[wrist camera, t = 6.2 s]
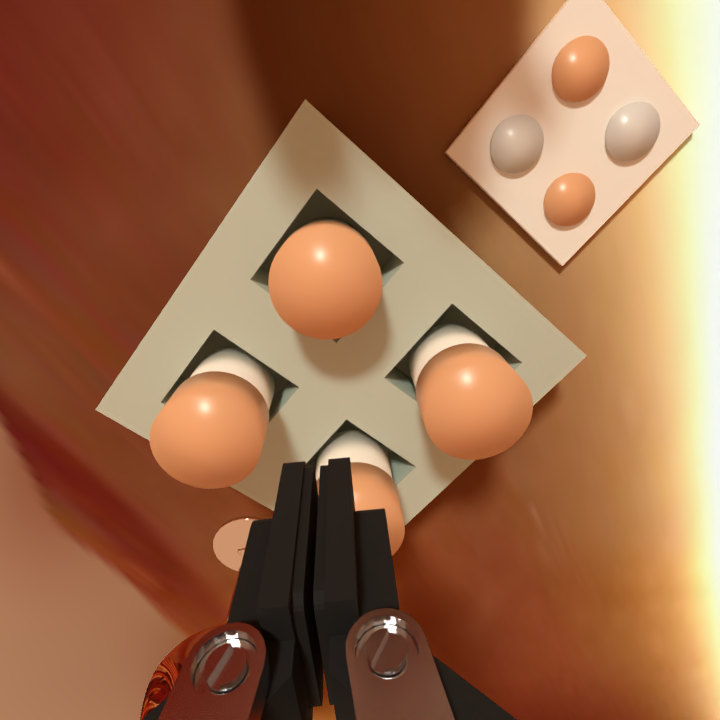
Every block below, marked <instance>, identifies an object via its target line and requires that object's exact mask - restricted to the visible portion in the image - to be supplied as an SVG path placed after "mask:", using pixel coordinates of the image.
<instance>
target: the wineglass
mask: <svg viewBox="0 0 720 720" xmlns="http://www.w3.org/2000/svg"><path fill="white" fill-rule="evenodd" d="M254 520H263V519H259V518H253V517H243V518H237V519H234V520H231V521H229V522H227V523H225V524H224V525H223V526H221V527H220V528H219V530H218V531H217V532H216V534H215V536H214V540H213V549H214V552H215V555H216V556H217V558H218V559H219V560H220V561H221V562H222V563H223V564H224V565H226V566H227V567H229V568H231V569H233V570H236V571H238V575H237V579H236V583H235V588H236V584H237V580H238V576H239V572H240V568H241V564H242V559H243V555H244V551H245V547H246V543H247V539H248V535H249V531H250V527H251V524H252V522H253V521H254ZM235 588H234V592H235ZM234 592H233V596H234ZM233 596H232V599H231V603H230V607H229V611H228V615H227V617H226V618H225V620H224V621H223V622H221V623H220V624H218V625H216V626H214V627H211V628H208V629H205V630H202V631H200V632H198V633H196V634H194V635H192V636H190V637H188V638H187V639H185V640H184V641H182V642H181V643H180V644H178V645H177V646H176V647H175V648H173V649H172V650H171V651H170V652H169V653H168V655H166V656H165V658H164V659H163V660H162V661H161V663H160V664H159V665H158V667H157V668H156V670H155V672H154V673H153V675H152V677H151V679H150V682H149V684H148V686H147V689H146V693H145V697H144V700H143V705H142V709H141V715H140V720H142V719H143V718H144V717H145V716H146V715H147V714H149V713H150V712H151V711H152V710H153V709H154V708H155V707H157V706H158V705H159V704H160V703H161V702H162V701H163V700H165V699H166V698H167V697H168V696H169V694H170V692H171V690H172V688H173V685H174V683H175V681H176V679H177V677H178V674H179V672H180V670H181V668H182V665H183V663H184V661H185V659H186V657H187V656H188V654H189V652H190V651H191V649H192V647H193V646H194V645H195V644H196V643H197V642H198V641H199V640H200V639H201V638H202V636H204V635H205V634H207V633H208V632H210V631H211V630H213V629H214V628H216V627H219V626H222V625H224V624H227V621H228V617H229V613H230V609H231V605H232V601H233Z"/></svg>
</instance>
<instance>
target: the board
mask: <svg viewBox="0 0 720 720" xmlns="http://www.w3.org/2000/svg"><path fill="white" fill-rule="evenodd" d="M323 217H332V218H337V219H341V220H343V221H346V222H347V223H349V224H351V225H352V226H353V227H355V228H356V229H357V230H358V231H359V233H360V234H361V235H362V236H363V237H364V238H365V239H366V241H367V242H368V243H369V245H370V247H371V248H372V250H373V253H374V255H375V257H376V259H377V262H378V264H379V267H380V270H381V274H382V295H381V299H380V302H379V305H378V307H377V309H376V311H375V313H374V315H373V316H372V317H371V319H370V320H369V321H368V322H367V323H366V324H365V325H364V326H363V327H362V328H360V329H359V330H357V331H356V332H354V333H352V334H350V335H348V336H345V337H342V338H337V339H328V340H324V339H316V338H311V337H308V336H305V335H303V334H301V333H299V332H297V331H295V330H294V329H292V328H291V327H290V326H289V325H287V324H286V323H285V322H284V321H283V320H282V318H281V317H280V316H279V314H278V313H277V311H276V310H275V308H274V306H273V303H272V301H271V297H270V294H269V286H268V278H269V271H270V267H271V264H272V262H273V259H274V257H275V255H276V254H277V252H278V251H279V249H280V248H281V246H282V245H283V244H284V242H285V241H286V240H287V239H288V237H289V236H290V235H291V234H292V233H293V232H295V231H296V230H297V229H299V228H300V227H302V226H303V225H304V224H306V223H307V222H309V221H312V220H314V219H317V218H323ZM443 324H460V325H464V326H467V327H469V328H471V329H472V330H474V331H475V332H476V333H477V334H478V335H479V336H480V337H481V338H482V339H483V340H484V342H485V343H486V344H487V345H488V346H489V347H490V348H491V349H493V350H495V351H496V352H498V353H499V354H500V355H501V356H502V357H503V358H504V359H505V360H506V362H507V363H508V364H509V365H510V366H511V367H512V368H513V369H514V371H515V372H516V373H517V374H518V375H519V376H520V377H521V378H522V380H523V381H524V382H525V383H526V385H527V386H528V388H529V390H530V393H531V396H532V401H533V406H534V405H535V404H536V403H537V402H538V401H539V400H540V399H541V398H542V397H543V396H544V395H545V394H546V393H547V392H549V391H550V390H551V389H552V388H553V387H554V386H555V385H556V384H557V383H558V382H559V381H560V380H561V379H562V378H564V377H565V376H566V375H567V374H568V373H569V372H570V371H571V370H572V369H573V368H574V367H575V366H576V365H577V364H579V363H580V362H581V361H582V360H583V359H584V358H585V357H586V356H587V355H585V354H584V353H583V352H582V351H581V350H580V349H579V348H578V347H577V346H576V345H575V344H573V343H572V342H571V341H570V340H569V339H568V338H567V337H566V336H565V335H564V334H562V333H561V332H560V331H559V330H558V329H557V328H556V327H555V326H554V325H553V324H551V323H550V322H549V321H548V320H547V319H546V318H545V317H544V316H543V315H542V314H540V313H539V312H538V311H537V310H536V309H535V308H534V307H533V306H532V305H531V304H530V303H528V302H527V301H526V300H525V299H524V298H523V297H522V296H521V295H520V294H519V293H517V292H516V291H515V290H514V289H513V288H512V287H511V286H510V285H509V284H508V283H506V282H505V281H504V280H503V279H502V278H501V277H500V276H499V275H498V274H497V273H495V272H494V271H493V270H492V269H491V268H490V267H489V266H488V265H487V264H486V263H484V262H483V261H482V260H481V259H480V258H479V257H478V256H477V255H476V254H475V253H474V252H472V251H471V250H470V249H469V248H468V247H467V246H466V245H465V244H464V243H463V242H461V241H460V240H459V239H458V238H457V237H456V236H455V235H454V234H453V233H452V232H450V231H449V230H448V229H447V228H446V227H445V226H444V225H443V224H442V223H441V222H439V221H438V220H437V219H436V218H435V217H434V216H433V215H432V214H431V213H430V212H428V211H427V210H426V209H425V208H424V207H423V206H422V205H421V204H420V203H419V202H418V201H416V200H415V199H414V198H413V197H412V196H411V195H410V194H409V193H408V192H407V191H405V190H404V189H403V188H402V187H401V186H400V185H399V184H398V183H397V182H396V181H394V180H393V179H392V178H391V177H390V176H389V175H388V174H387V173H386V172H385V171H383V170H382V169H381V168H380V167H379V166H378V165H377V164H376V163H375V162H374V161H373V160H371V159H370V158H369V157H368V156H367V155H366V154H365V153H364V152H363V151H362V150H360V149H359V148H358V147H357V146H356V145H355V144H354V143H353V142H352V141H351V140H349V139H348V138H347V137H346V136H345V135H344V134H343V133H342V132H341V131H340V130H338V129H337V128H336V127H335V126H334V125H333V124H332V123H331V122H330V121H329V120H327V119H326V118H325V117H324V116H323V115H322V114H321V113H320V112H319V111H318V110H317V109H315V108H314V107H313V106H312V105H311V104H310V103H309V102H308V101H307V100H306V99H305V100H304V102H303V103H302V105H301V106H300V107H299V109H298V110H297V112H296V113H295V115H294V116H293V118H292V119H291V121H290V122H289V124H288V125H287V127H286V128H285V130H284V131H283V133H282V134H281V136H280V137H279V139H278V140H277V142H276V143H275V145H274V146H273V147H272V149H271V150H270V152H269V153H268V155H267V156H266V158H265V159H264V161H263V162H262V164H261V165H260V167H259V168H258V170H257V171H256V173H255V174H254V176H253V177H252V179H251V180H250V182H249V183H248V185H247V186H246V187H245V189H244V190H243V192H242V193H241V195H240V196H239V198H238V199H237V201H236V202H235V204H234V205H233V207H232V208H231V210H230V211H229V213H228V214H227V216H226V217H225V219H224V220H223V222H222V223H221V225H220V226H219V227H218V229H217V230H216V232H215V233H214V235H213V236H212V238H211V239H210V241H209V242H208V244H207V245H206V247H205V248H204V250H203V251H202V253H201V254H200V256H199V257H198V259H197V260H196V262H195V263H194V265H193V266H192V267H191V269H190V270H189V272H188V273H187V275H186V276H185V278H184V279H183V281H182V282H181V284H180V285H179V287H178V288H177V290H176V291H175V293H174V294H173V296H172V297H171V299H170V300H169V302H168V303H167V304H166V306H165V307H164V309H163V310H162V312H161V313H160V315H159V316H158V318H157V319H156V321H155V322H154V324H153V325H152V327H151V328H150V330H149V331H148V333H147V334H146V336H145V337H144V339H143V340H142V342H141V343H140V344H139V346H138V347H137V349H136V350H135V352H134V353H133V355H132V356H131V358H130V359H129V361H128V362H127V364H126V365H125V367H124V368H123V370H122V371H121V373H120V374H119V376H118V377H117V379H116V380H115V382H114V383H113V384H112V386H111V387H110V389H109V390H108V392H107V393H106V395H105V396H104V398H103V399H102V401H101V402H100V404H99V405H98V407H97V408H96V410H97V411H98V412H100V413H102V414H104V415H105V416H107V417H109V418H111V419H112V420H114V421H116V422H118V423H119V424H121V425H123V426H125V427H126V428H128V429H130V430H132V431H134V432H135V433H137V434H139V435H141V436H142V437H144V438H146V439H148V440H149V441H150V430H151V426H152V424H153V422H154V420H155V418H156V417H157V415H158V414H159V412H160V411H161V410H162V408H163V407H164V406H165V404H166V403H167V402H168V400H169V399H170V397H171V396H172V395H173V393H174V392H175V391H176V389H177V388H178V387H179V386H180V385H181V384H182V383H183V382H184V381H185V380H187V379H188V378H190V376H191V375H192V373H193V372H194V371H195V369H196V368H197V366H198V365H199V363H200V362H201V361H202V360H203V359H204V358H205V357H206V356H207V355H209V354H210V353H212V352H214V351H216V350H219V349H224V348H239V349H243V350H245V351H246V352H248V353H249V354H251V355H252V356H254V357H255V358H257V359H258V360H260V361H261V362H263V363H264V364H265V365H267V366H268V367H269V368H270V370H271V372H272V374H273V378H274V383H275V390H274V395H273V398H272V402H271V406H270V409H269V425H268V429H267V433H266V436H265V440H264V444H263V447H262V451H261V455H260V458H259V461H258V463H257V465H256V467H255V468H254V470H253V471H252V472H251V473H250V474H249V475H248V476H247V477H246V478H245V479H243V480H242V481H240V482H238V483H236V484H234V485H231V486H230V487H232V488H234V489H236V490H237V491H239V492H241V493H243V494H244V495H246V496H248V497H250V498H251V499H253V500H255V501H257V502H258V503H260V504H262V505H264V506H265V507H267V508H269V509H271V510H273V511H274V508H275V503H276V498H277V492H278V487H279V481H280V476H281V470H282V466H283V464H284V463H291V462H302V461H305V462H306V465H307V467H312V466H314V468H315V474H316V464H317V455H318V451H319V449H320V448H321V447H322V446H323V445H324V443H325V442H326V441H327V440H328V439H329V438H330V437H331V436H333V435H334V434H337V433H339V432H342V431H347V430H360V431H364V432H366V433H367V434H369V435H370V436H372V437H373V438H375V439H376V440H378V441H379V442H381V443H382V444H383V445H385V447H386V449H387V452H388V457H389V462H390V468H391V474H392V479H393V480H394V482H395V484H396V486H397V489H398V495H399V500H400V505H401V511H402V516H403V521H404V526H405V525H406V524H407V523H408V522H409V521H410V520H412V519H413V518H414V517H415V516H416V515H417V514H418V513H419V512H420V511H421V510H422V509H423V508H424V507H425V506H427V505H428V504H429V503H430V502H431V501H432V500H433V499H434V498H435V497H436V496H437V495H438V494H439V493H440V492H442V491H443V490H444V489H445V488H446V487H447V486H448V485H449V484H450V483H451V482H452V481H453V480H454V479H455V478H457V477H458V476H459V475H460V474H461V473H462V472H463V471H464V470H465V469H466V468H467V467H468V466H469V465H470V464H471V463H473V462H474V461H475V460H465V459H459V458H456V457H452V456H450V455H448V454H446V453H444V452H443V451H441V450H440V449H439V448H438V447H437V446H436V445H435V444H434V443H433V442H432V440H431V439H430V437H429V435H428V433H427V430H426V427H425V424H424V421H423V418H422V415H421V412H420V409H419V407H418V403H417V400H416V388H415V385H414V382H413V380H412V377H411V374H410V370H409V356H410V352H411V350H412V348H413V346H414V345H415V344H416V343H417V341H418V340H419V339H420V338H421V337H422V336H423V335H424V334H425V333H426V332H427V331H428V330H430V329H432V328H434V327H436V326H439V325H443Z"/></svg>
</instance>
